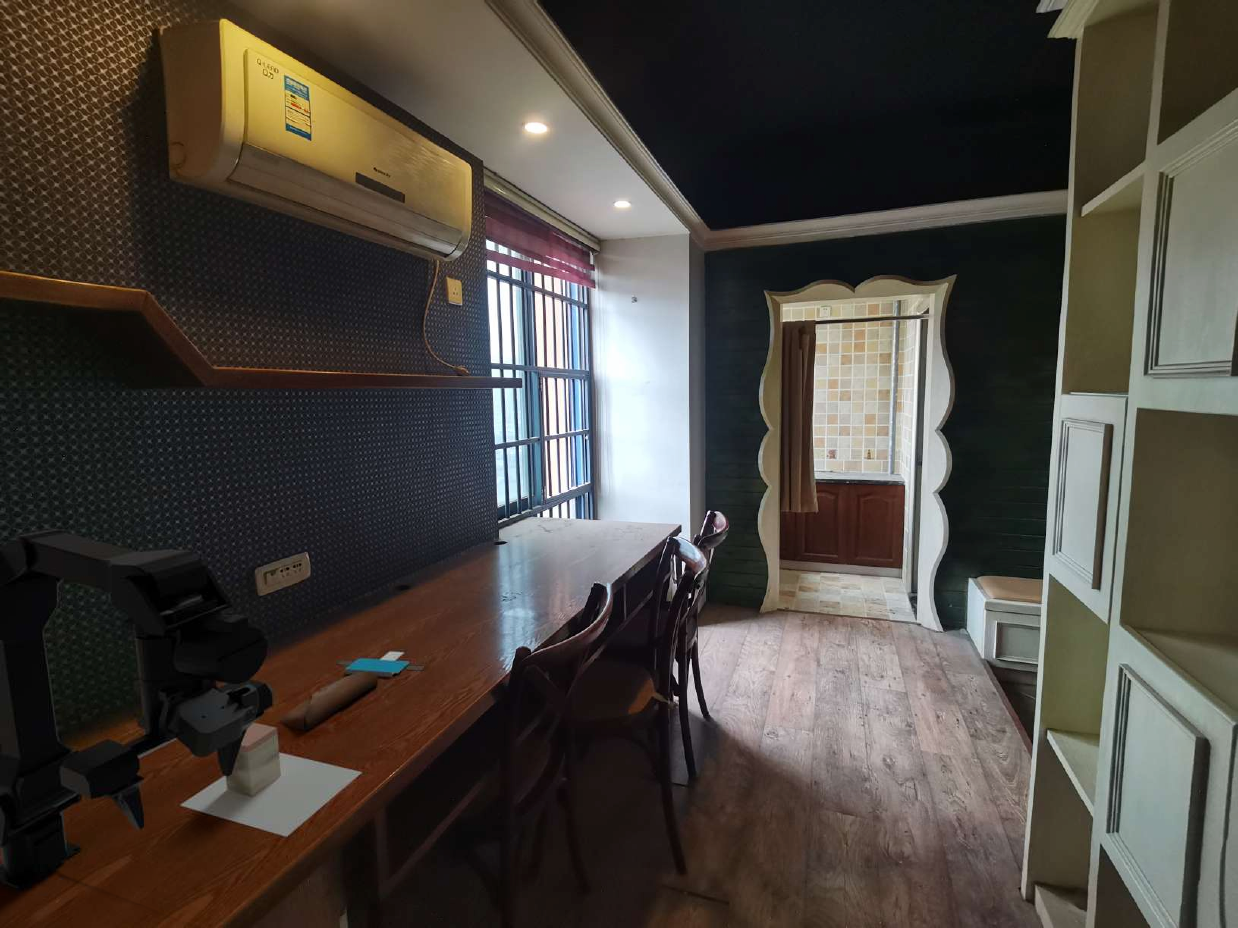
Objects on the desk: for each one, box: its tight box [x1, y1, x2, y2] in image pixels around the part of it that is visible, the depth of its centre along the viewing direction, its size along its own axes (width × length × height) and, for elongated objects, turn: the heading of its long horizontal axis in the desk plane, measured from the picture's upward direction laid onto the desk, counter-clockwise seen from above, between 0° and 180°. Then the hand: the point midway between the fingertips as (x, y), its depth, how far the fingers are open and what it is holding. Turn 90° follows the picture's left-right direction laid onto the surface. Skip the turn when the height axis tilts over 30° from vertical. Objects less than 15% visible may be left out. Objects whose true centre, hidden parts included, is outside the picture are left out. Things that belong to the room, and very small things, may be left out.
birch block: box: [226, 722, 281, 797], centre depth 89 cm, size 5×5×8 cm
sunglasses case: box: [277, 671, 379, 733], centre depth 112 cm, size 18×7×7 cm
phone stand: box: [337, 651, 425, 678], centre depth 129 cm, size 20×12×2 cm, turn 81°
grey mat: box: [179, 752, 363, 838], centre depth 88 cm, size 20×14×1 cm
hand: (186, 799), depth 66 cm, fingers open, 9 cm apart
